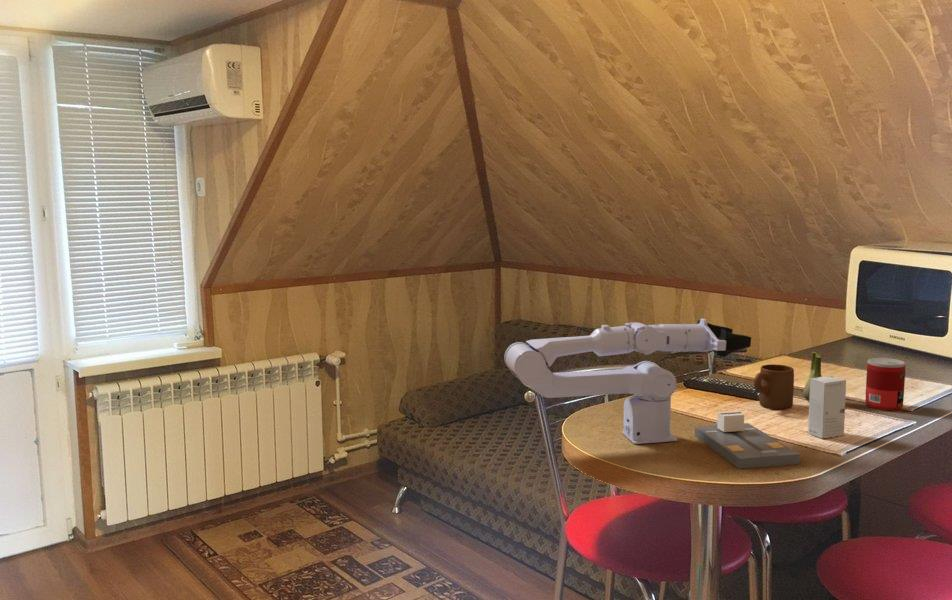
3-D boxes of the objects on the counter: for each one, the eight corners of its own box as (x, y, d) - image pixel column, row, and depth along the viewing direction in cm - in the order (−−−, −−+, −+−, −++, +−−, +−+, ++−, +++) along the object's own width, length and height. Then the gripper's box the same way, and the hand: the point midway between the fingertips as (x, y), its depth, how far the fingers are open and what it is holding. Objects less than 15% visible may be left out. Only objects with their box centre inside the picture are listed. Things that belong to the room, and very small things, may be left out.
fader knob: (723, 432, 162) (724, 415, 162) (717, 427, 165) (717, 411, 165) (743, 430, 163) (744, 414, 163) (736, 426, 166) (737, 410, 166)
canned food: (905, 412, 181) (908, 365, 180) (867, 409, 184) (869, 363, 182) (899, 403, 188) (902, 358, 187) (862, 401, 191) (865, 356, 189)
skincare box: (822, 439, 163) (825, 382, 162) (806, 433, 168) (808, 378, 166) (845, 435, 166) (848, 379, 164) (828, 429, 170) (831, 375, 168)
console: (739, 468, 148) (740, 454, 148) (694, 435, 168) (695, 423, 167) (799, 464, 150) (799, 450, 149) (747, 432, 169) (748, 419, 169)
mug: (768, 416, 181) (769, 375, 179) (740, 408, 187) (741, 369, 185) (799, 406, 187) (801, 368, 186) (771, 400, 194) (772, 362, 192)
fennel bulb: (820, 405, 188) (822, 356, 186) (799, 402, 191) (801, 353, 189) (827, 400, 193) (829, 351, 191) (806, 396, 196) (808, 349, 194)
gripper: (698, 326, 158) (760, 326, 160) (668, 312, 172) (725, 312, 174) (695, 360, 159) (757, 360, 162) (665, 343, 173) (722, 343, 176)
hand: (740, 337), depth 168 cm, fingers open, 7 cm apart
